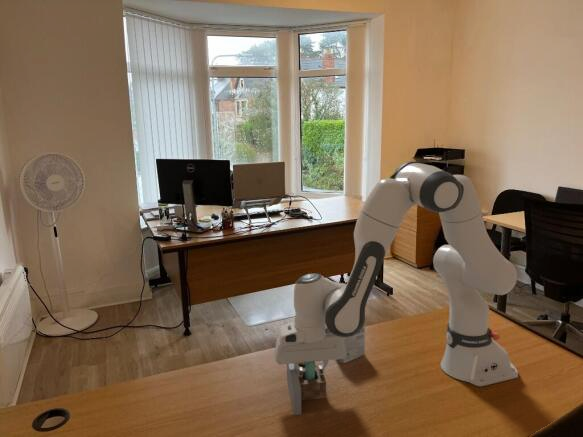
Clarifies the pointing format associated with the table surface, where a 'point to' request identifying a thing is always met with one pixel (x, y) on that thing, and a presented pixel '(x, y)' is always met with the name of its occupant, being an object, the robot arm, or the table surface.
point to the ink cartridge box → (354, 346)
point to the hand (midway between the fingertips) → (310, 373)
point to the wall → (294, 388)
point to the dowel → (310, 370)
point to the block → (313, 386)
